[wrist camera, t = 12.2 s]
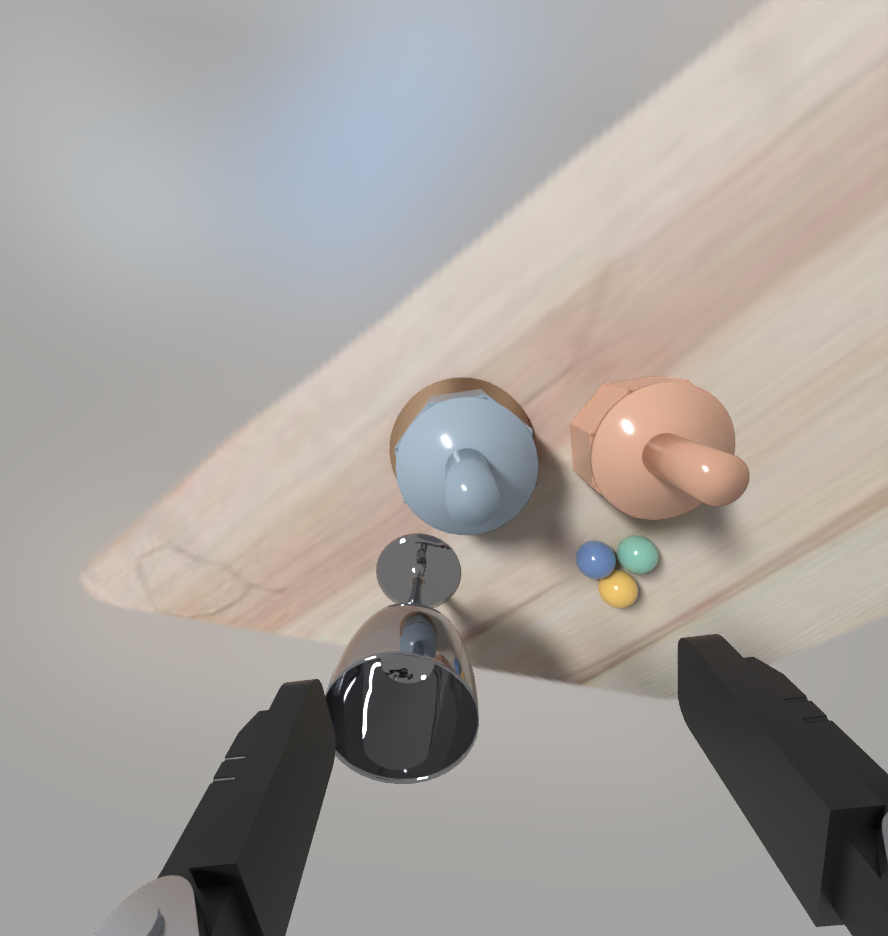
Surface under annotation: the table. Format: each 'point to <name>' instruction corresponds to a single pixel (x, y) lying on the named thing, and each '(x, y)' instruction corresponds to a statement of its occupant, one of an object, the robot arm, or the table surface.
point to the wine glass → (406, 673)
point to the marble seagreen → (637, 554)
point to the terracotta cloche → (657, 448)
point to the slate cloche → (466, 463)
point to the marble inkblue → (595, 559)
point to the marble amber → (618, 589)
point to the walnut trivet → (445, 388)
